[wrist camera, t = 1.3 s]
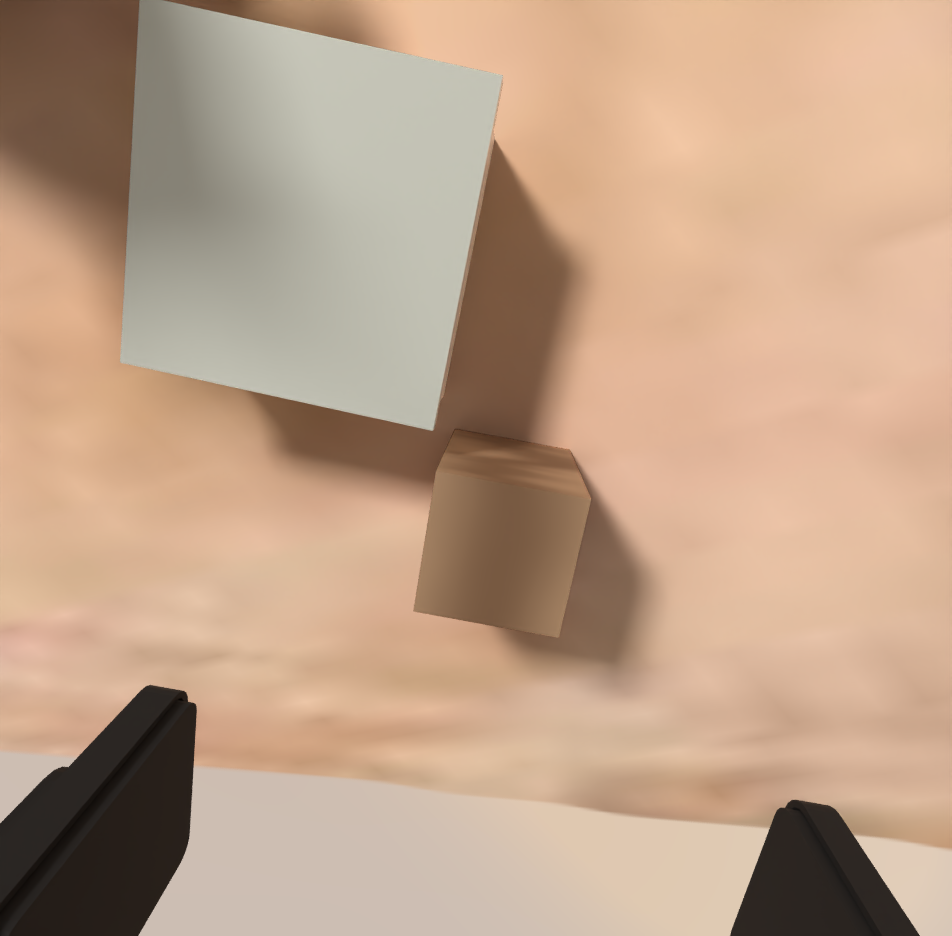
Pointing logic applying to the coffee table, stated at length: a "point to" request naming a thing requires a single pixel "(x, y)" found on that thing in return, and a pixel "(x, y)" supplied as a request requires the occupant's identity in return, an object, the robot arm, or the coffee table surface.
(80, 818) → the robot arm
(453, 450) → the walnut block
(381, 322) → the pale grey box
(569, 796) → the coffee table surface
